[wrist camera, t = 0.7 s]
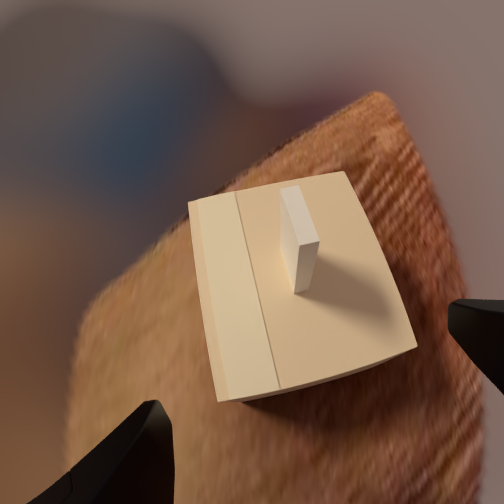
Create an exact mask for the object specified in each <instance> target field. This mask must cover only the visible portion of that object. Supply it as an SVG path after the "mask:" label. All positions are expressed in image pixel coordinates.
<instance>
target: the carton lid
mask: <svg viewBox="0 0 504 504" xmlns="http://www.w3.org/2000/svg"><path fill="white" fill-rule="evenodd" d="M188 207H189V216H190V225H191V234H192V243H193V251H194V259H195V266H196V274H197V281H198V288H199V295H200V302H201V309H202V315H203V322H204V328H205V334H206V340H207V346H208V352H209V358H210V363H211V369H212V374H213V380H214V385H215V390H216V395H217V401H218V402H223V401H229V400H235V399H240V398H246V397H251V396H256V395H261V394H265V393H270V392H274V391H279V390H283V389H287V388H292V387H296V386H300V385H304V384H307V383H311V382H315V381H319V380H322V379H326V378H329V377H333V376H336V375H339V374H343V373H346V372H349V371H352V370H355V369H358V368H361V367H364V366H367V365H370V364H373V363H376V362H379V361H382V360H385V359H387V358H390V357H393V356H395V355H398V354H401V353H403V352H406V351H408V350H411V349H413V348H415V347H417V343H416V339H415V336H414V333H413V330H412V327H411V324H410V322H409V319H408V316H407V313H406V310H405V307H404V305H403V302H402V299H401V297H400V294H399V291H398V289H397V286H396V284H395V281H394V278H393V276H392V273H391V271H390V269H389V266H388V264H387V261H386V259H385V257H384V254H383V252H382V250H381V247H380V245H379V243H378V240H377V238H376V236H375V234H374V231H373V229H372V227H371V225H370V223H369V221H368V218H367V216H366V214H365V212H364V210H363V208H362V206H361V204H360V202H359V200H358V198H357V196H356V194H355V192H354V190H353V188H352V186H351V184H350V182H349V180H348V178H347V176H346V174H345V172H344V171H341V172H335V173H329V174H323V175H317V176H311V177H306V178H300V179H295V180H290V181H284V182H279V183H274V184H269V185H264V186H259V187H254V188H249V189H245V190H240V191H235V192H234V191H233V192H228V193H223V194H219V195H215V196H210V197H206V198H202V199H198V200H196V201H192V202H188Z"/></svg>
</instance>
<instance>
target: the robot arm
mask: <svg viewBox="0 0 504 504" xmlns="http://www.w3.org/2000/svg"><path fill="white" fill-rule="evenodd" d="M448 330H449V333H450V334H451V335H452V337H453V338H454V339H455V340H456V342H457V343H458V344H459V345H460V346H461V348H462V349H463V350H464V351H465V353H466V354H467V355H468V357H469V358H470V359H471V360H472V361H473V363H474V364H475V365H476V366H477V367H478V368H479V369H480V370H481V371H482V372H483V373H484V374H485V375H486V376H487V378H488V379H489V380H490V381H491V382H492V383H493V384H494V385H495V386H496V387H497V388H498V389H499V390H500V391H501V392H502V394H503V395H504V300H482V299H481V300H480V299H457V300H455V301H453V302H451V303H450V304H449V306H448ZM174 481H175V463H174V450H173V434H172V424H171V421H170V419H169V417H168V415H167V414H166V412H165V410H164V408H163V406H162V404H161V403H160V402H159V401H158V400H150V401H145V402H143V403H142V404H141V405H140V406H139V407H138V408H137V409H136V410H135V411H134V412H133V413H131V414H130V415H129V416H128V417H127V418H126V419H125V420H124V421H123V422H122V423H121V424H120V425H119V426H118V427H116V428H115V429H114V430H113V431H112V432H111V433H110V434H109V435H108V436H107V437H106V438H105V439H103V440H102V441H101V442H100V443H99V444H98V445H97V446H96V447H95V448H94V449H93V450H91V451H90V452H89V453H88V454H87V455H86V456H85V457H84V458H83V459H81V460H80V461H79V462H78V463H77V464H76V465H75V466H74V467H72V468H71V469H70V471H68V472H67V473H66V474H64V475H63V476H62V477H61V478H60V479H59V480H58V481H56V482H55V483H54V484H53V485H52V486H50V487H49V488H48V489H46V490H45V491H44V492H42V493H41V494H40V495H38V496H37V497H36V498H34V499H33V500H31V501H30V502H28V503H27V504H174Z"/></svg>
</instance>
